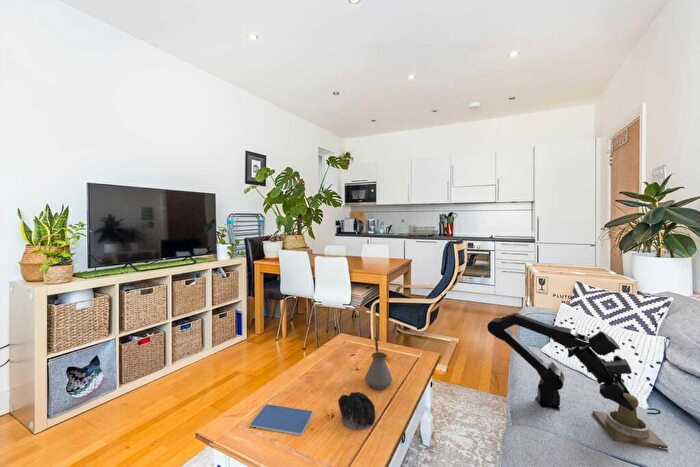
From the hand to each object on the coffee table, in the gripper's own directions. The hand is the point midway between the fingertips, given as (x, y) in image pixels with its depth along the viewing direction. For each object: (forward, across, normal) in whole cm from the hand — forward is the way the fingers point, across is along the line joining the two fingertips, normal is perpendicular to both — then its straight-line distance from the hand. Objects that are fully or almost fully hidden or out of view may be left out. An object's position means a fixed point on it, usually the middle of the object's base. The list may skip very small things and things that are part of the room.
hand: (631, 403), depth 102 cm
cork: (+6, 0, +7) cm, 9 cm away
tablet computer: (-60, -72, +75) cm, 120 cm away
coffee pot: (-53, -27, +67) cm, 90 cm away
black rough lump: (-46, -54, +60) cm, 93 cm away
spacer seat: (+6, 0, +8) cm, 10 cm away
